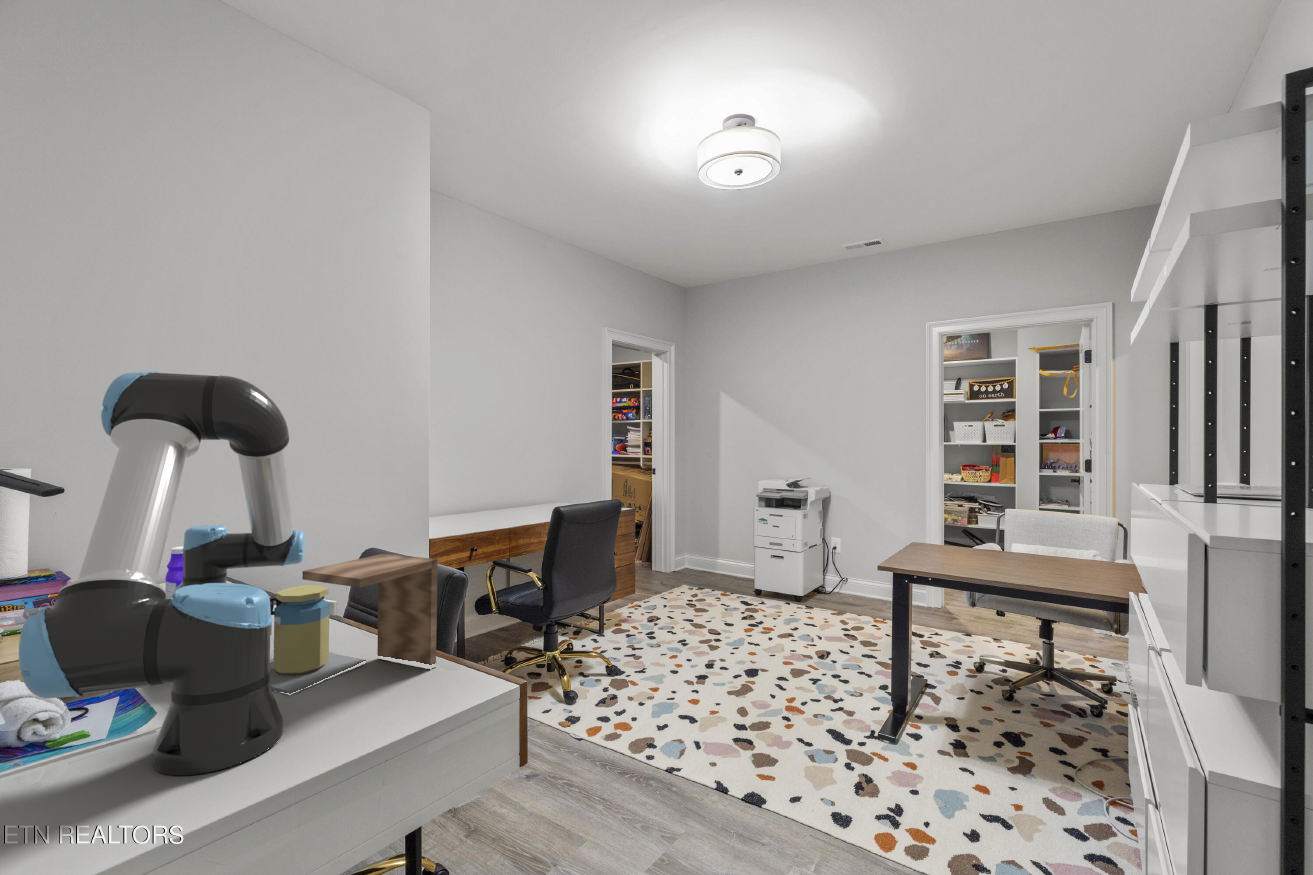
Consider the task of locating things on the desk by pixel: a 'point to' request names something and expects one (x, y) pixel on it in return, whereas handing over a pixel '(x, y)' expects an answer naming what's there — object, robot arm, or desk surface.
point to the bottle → (174, 571)
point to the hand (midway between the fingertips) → (304, 617)
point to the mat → (310, 674)
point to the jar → (301, 629)
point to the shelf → (395, 600)
